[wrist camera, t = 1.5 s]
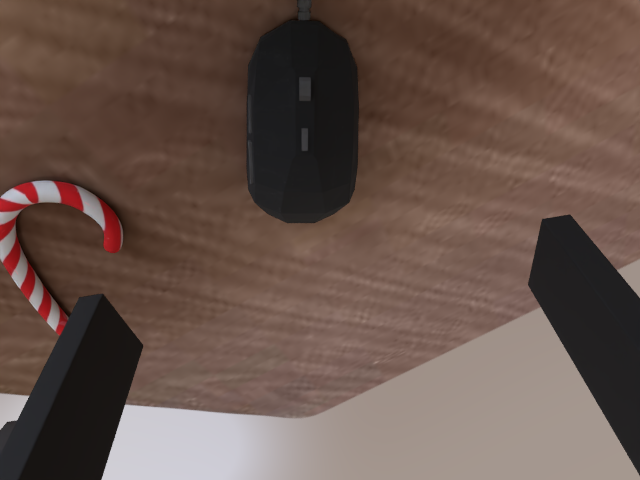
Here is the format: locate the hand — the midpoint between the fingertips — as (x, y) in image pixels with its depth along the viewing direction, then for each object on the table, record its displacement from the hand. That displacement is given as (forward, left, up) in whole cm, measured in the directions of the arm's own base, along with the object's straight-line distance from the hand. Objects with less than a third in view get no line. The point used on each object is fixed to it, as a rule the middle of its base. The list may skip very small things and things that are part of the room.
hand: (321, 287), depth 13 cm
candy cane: (-19, -8, -14) cm, 25 cm away
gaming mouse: (0, 0, -14) cm, 14 cm away
